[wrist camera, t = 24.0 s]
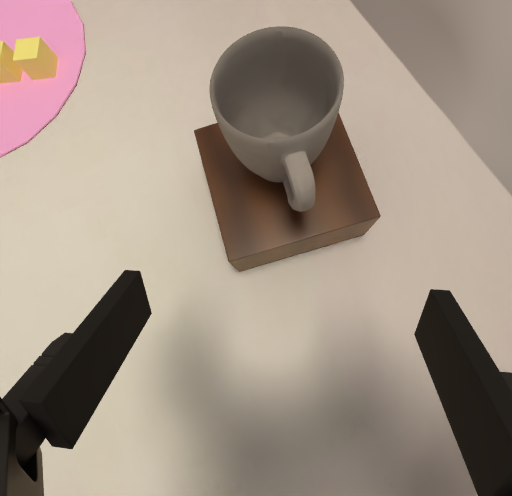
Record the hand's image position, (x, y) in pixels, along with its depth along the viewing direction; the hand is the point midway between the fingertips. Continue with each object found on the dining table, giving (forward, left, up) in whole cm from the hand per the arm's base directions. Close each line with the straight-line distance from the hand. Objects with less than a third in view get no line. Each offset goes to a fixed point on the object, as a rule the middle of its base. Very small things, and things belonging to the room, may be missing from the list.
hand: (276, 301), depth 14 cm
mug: (-4, -12, -12) cm, 18 cm away
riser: (-4, -12, -18) cm, 22 cm away
